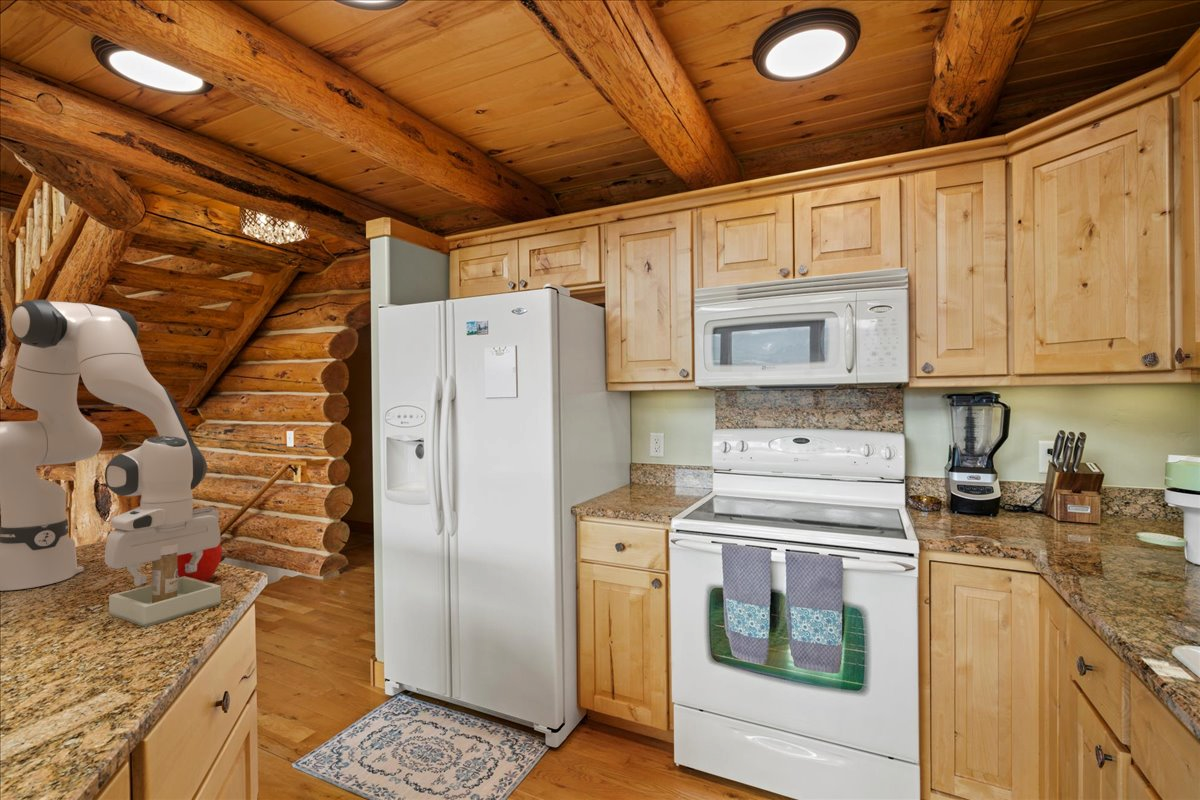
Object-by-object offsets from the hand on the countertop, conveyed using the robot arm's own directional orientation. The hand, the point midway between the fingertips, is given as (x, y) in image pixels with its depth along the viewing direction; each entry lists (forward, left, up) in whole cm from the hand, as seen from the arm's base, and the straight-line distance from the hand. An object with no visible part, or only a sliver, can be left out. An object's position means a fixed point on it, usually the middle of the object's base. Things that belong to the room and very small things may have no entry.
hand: (166, 578), depth 118 cm
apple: (-13, +13, -7) cm, 20 cm away
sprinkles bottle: (0, -1, -6) cm, 6 cm away
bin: (0, 0, -7) cm, 7 cm away
